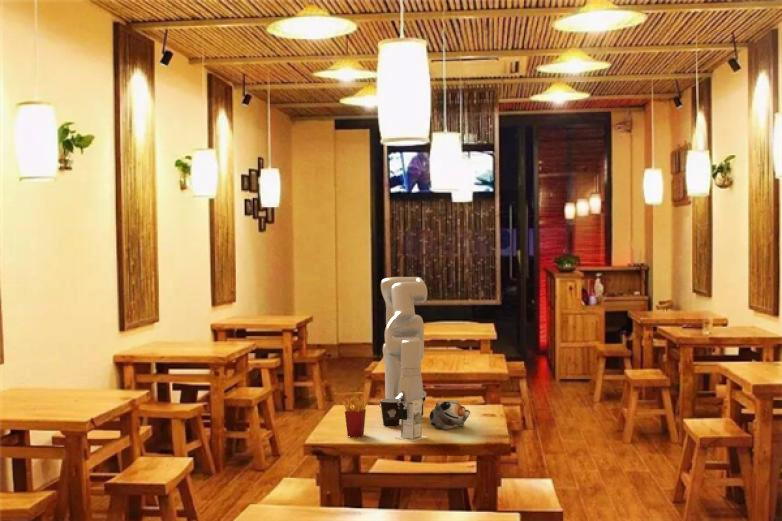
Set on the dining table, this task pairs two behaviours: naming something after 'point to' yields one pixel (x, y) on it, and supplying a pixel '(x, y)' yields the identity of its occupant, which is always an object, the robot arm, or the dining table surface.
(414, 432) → the syrup box
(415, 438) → the tile
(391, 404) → the coffee mug
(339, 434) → the dining table surface
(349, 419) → the french fries
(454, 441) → the dining table surface
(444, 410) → the lucky cat figurine
